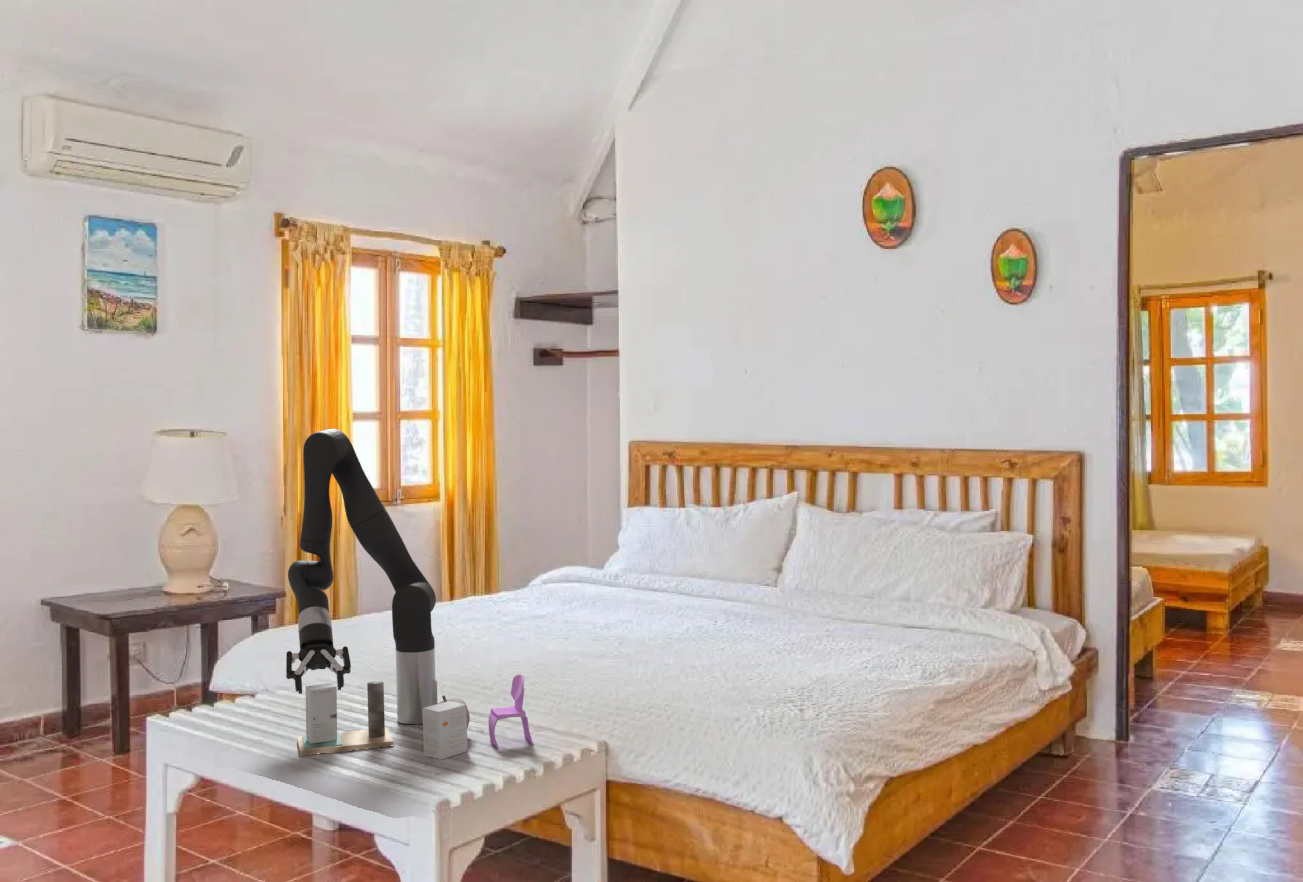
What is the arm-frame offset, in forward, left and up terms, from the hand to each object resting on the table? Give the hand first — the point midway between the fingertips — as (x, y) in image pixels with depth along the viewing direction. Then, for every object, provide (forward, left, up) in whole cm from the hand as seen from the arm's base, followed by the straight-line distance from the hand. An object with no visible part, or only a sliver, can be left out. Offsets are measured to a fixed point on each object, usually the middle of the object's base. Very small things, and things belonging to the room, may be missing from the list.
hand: (320, 690), depth 274 cm
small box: (-25, +20, -12) cm, 34 cm away
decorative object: (-28, +8, -12) cm, 31 cm away
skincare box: (0, +4, -11) cm, 11 cm away
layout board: (-5, +4, -12) cm, 13 cm away
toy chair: (-40, +17, -12) cm, 45 cm away
